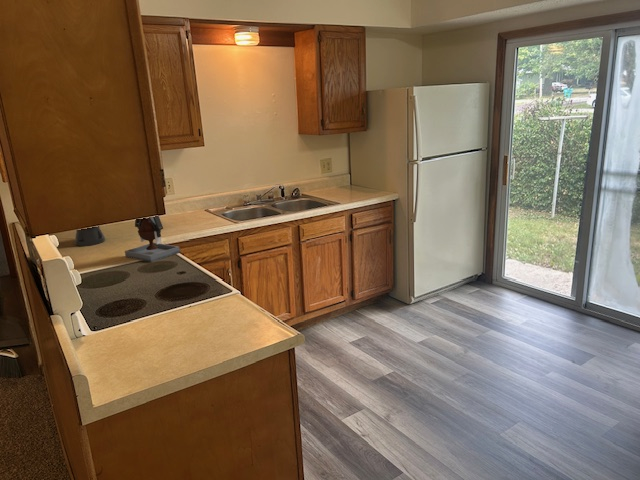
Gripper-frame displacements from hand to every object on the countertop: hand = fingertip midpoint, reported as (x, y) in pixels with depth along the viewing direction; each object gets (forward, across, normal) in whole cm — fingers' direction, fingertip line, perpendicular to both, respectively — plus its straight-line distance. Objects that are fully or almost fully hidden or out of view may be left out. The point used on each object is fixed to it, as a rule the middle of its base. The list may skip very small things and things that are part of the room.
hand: (151, 242), depth 235 cm
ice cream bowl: (+3, 0, 0) cm, 3 cm away
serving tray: (+6, 0, 0) cm, 6 cm away
